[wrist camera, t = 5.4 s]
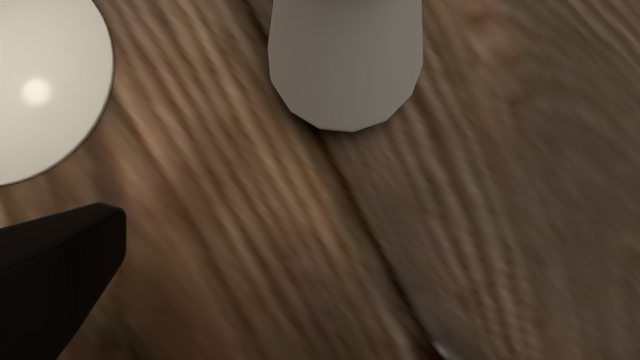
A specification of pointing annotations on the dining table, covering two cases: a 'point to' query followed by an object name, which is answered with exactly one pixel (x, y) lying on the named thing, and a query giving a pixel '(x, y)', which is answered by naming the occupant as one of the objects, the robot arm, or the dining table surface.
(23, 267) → the robot arm
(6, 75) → the coaster
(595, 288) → the dining table surface
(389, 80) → the salt shaker
